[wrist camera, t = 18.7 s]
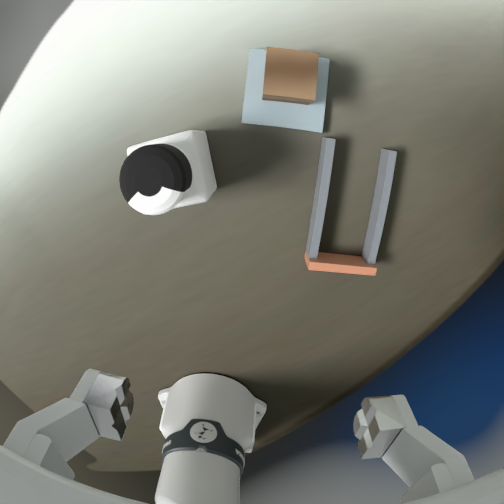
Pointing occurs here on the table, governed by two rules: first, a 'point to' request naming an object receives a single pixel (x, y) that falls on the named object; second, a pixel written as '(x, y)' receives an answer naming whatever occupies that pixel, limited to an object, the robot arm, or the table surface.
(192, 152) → the medicine bottle
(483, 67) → the table surface
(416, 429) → the robot arm
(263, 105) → the tile
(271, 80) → the block
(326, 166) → the channel
